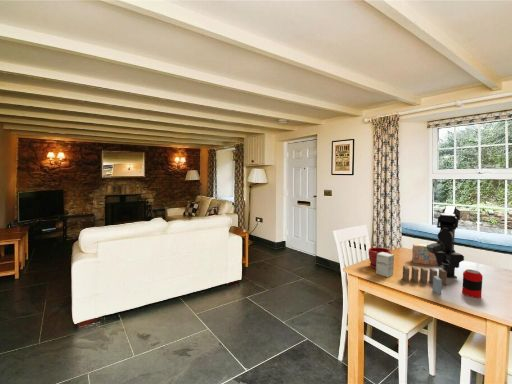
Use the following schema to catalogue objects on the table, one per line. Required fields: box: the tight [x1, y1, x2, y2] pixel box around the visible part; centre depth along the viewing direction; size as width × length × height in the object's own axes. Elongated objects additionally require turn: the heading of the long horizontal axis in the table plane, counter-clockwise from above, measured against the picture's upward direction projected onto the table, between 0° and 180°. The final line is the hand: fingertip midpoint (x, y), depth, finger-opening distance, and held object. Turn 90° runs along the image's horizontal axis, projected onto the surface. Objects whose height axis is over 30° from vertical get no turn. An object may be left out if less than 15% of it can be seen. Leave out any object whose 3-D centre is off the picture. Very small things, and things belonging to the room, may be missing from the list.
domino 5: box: [432, 275, 443, 295], centre depth 137 cm, size 5×2×8 cm, turn 165°
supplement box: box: [375, 252, 395, 278], centre depth 161 cm, size 7×7×13 cm
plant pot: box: [368, 247, 392, 270], centre depth 173 cm, size 13×13×12 cm
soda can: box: [461, 269, 483, 299], centre depth 134 cm, size 8×8×12 cm
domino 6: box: [437, 268, 448, 286], centre depth 148 cm, size 5×2×8 cm, turn 165°
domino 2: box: [410, 266, 420, 283], centre depth 152 cm, size 5×2×8 cm, turn 165°
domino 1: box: [402, 265, 410, 283], centre depth 153 cm, size 5×2×8 cm, turn 165°
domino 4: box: [428, 267, 438, 285], centre depth 149 cm, size 5×2×8 cm, turn 165°
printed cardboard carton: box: [411, 242, 443, 267], centre depth 182 cm, size 21×6×12 cm, turn 67°
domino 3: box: [419, 266, 429, 284], centre depth 150 cm, size 5×2×8 cm, turn 165°
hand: (444, 269), depth 135 cm, fingers open, 9 cm apart
